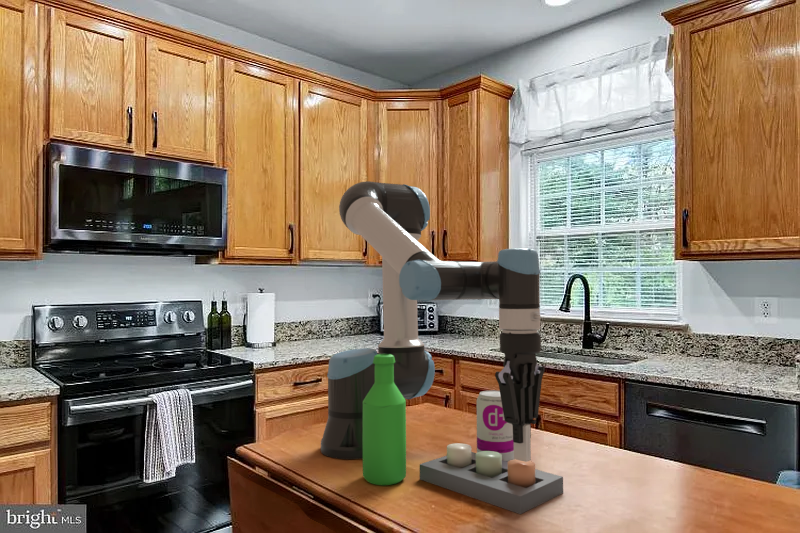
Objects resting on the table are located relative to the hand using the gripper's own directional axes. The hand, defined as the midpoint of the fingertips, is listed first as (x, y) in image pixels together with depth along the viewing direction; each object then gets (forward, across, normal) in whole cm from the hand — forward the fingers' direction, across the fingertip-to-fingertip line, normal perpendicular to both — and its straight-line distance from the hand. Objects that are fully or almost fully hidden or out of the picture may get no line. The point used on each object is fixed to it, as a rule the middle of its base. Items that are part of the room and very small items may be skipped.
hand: (522, 459), depth 104 cm
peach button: (+4, 0, 0) cm, 4 cm away
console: (+7, 0, +8) cm, 10 cm away
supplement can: (+7, +13, +16) cm, 22 cm away
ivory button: (+4, 0, +15) cm, 16 cm away
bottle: (+7, -12, +25) cm, 28 cm away
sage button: (+4, 0, +8) cm, 9 cm away
